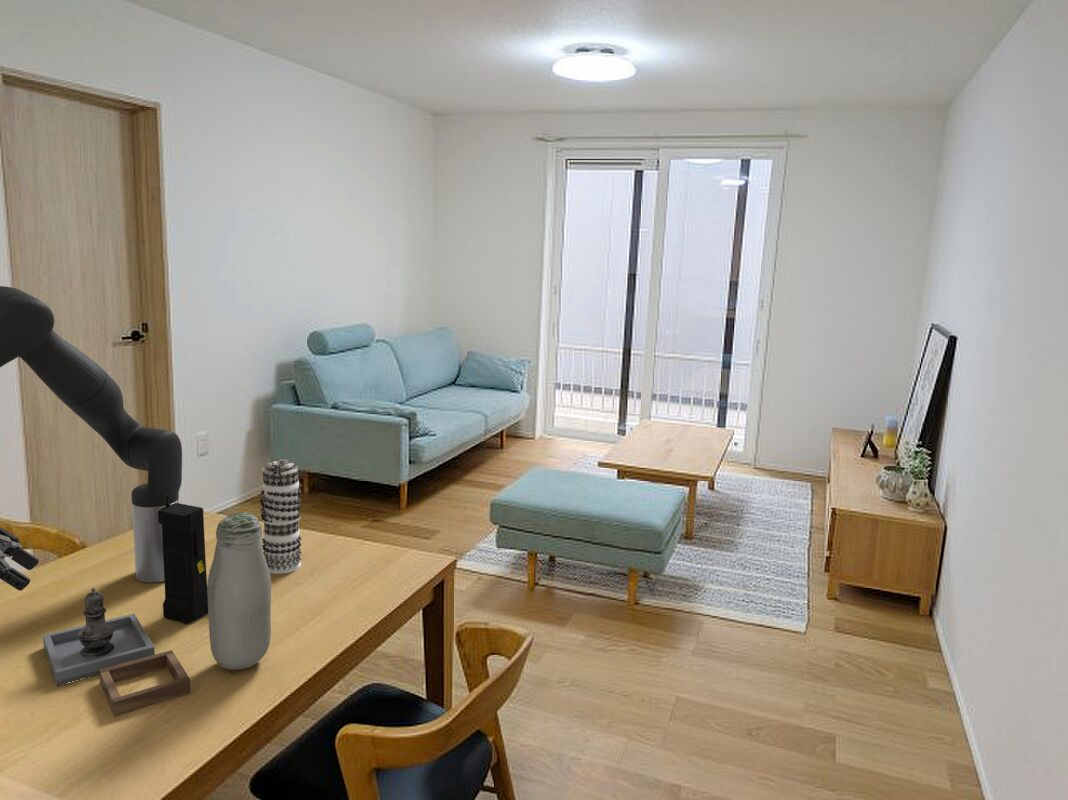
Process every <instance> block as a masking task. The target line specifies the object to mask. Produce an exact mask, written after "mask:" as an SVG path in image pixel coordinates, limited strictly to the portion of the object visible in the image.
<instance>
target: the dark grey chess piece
mask: <svg viewBox="0 0 1068 800" xmlns="http://www.w3.org/2000/svg"><path fill="white" fill-rule="evenodd" d="M96 590H97V589H95V587H92V589H91V590H90V591H91V592H89V593H86V595H85V596H84V607H85V608H84V609H85V610H84V612H83V613H82V615H83V616H84V618H85V625H86V626H85V628H83V629H82V630H80V631H79V632H78V634H77V637H78V638H79V639H80V642H81V644H82V645H83V646H85V647H84V648H83V649H82V650H81V652H80V654H81V655H82V656H83V657H87V658H95V657H100V656H103V655H106V654H108V653H110V652H111V651H112V650H113V649H114V645H113V644H112V643H110V642H109V641H110V640H111V639H112V636H113V632H114V631H115V627H114V626H112V625H110V624H106V622H105V620H106V613H107V608H105V607H104V605H105V604H104V595H103V593H102V592H100V591H96Z"/></svg>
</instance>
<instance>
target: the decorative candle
mask: <svg viewBox="0 0 1068 800" xmlns="http://www.w3.org/2000/svg"><path fill="white" fill-rule="evenodd" d="M299 470H300V467H299V466H298V465H296V464H295V463H294V462H293V461H291V460H288V459H275V460H271V461H269V462H267V463H266V464H265V466H263V467H262V468H261V472H262V490H261V491H260V493H259V497H260V499H259V502H260V505H261V508H260V512H261V514H260V517H261V520H262V522H263V523H264V524H263V525H264V530H262V534H263V537H262V547H263V553H264V556H265V559H266V562H267V566H268V569H269V573H270V574H273V575H274V574H275V575H282V574H289V573H292V572H295V571H297V570H299V569H300V568H301V566H302V563H301V560H302V557H301V554H302V553H303V552H302V551H301V548H300V547H301V546H302V544H301V540H302V537H301V535H300V534H301V533H300V527H299V526H300V523H299V522H300V521H299V520H301V516H302V514H301V513H300V512H299V511H300V510H301V509H302V508H303V506H302V504H301V502H302V501H303V500H302V499H301V498H300V497H299V496H300V495H302V494H303V491H302V490H301V488H302V487H303V485H302V483H301V482H300V481H299Z"/></svg>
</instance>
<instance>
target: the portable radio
mask: <svg viewBox="0 0 1068 800" xmlns="http://www.w3.org/2000/svg"><path fill="white" fill-rule="evenodd" d="M165 496H166V504H165V506H166V507H163V508H161V509H160V510H159V511H158V523H159V524H162V540H163V561H164V581H163V582H164V601H163V603H162V614H163V618H164V619H166V620H170V621H174V622H176V623H177V622H178V623H181V624H185V625H188V624H191V623H194V622H196V621H197V620H199V619H202V618H203V617H205V616H206V615H207V614H208V592H207V583H208V577H207V576H208V575H207V563H206V562H207V560H206V538H205V523H204V522H205V521H204V520H205V518H204V508H203V507H200V506H195V505H189V504H184V503H181V502H179V503H173V504H171V505H169V503H168V496H169V495H165Z"/></svg>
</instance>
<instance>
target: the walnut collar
mask: <svg viewBox="0 0 1068 800" xmlns="http://www.w3.org/2000/svg"><path fill="white" fill-rule="evenodd" d="M164 669H167V670H168V672H169V674H170V675H171V677H172V679H173V680H171V681H168V682H163V683H162V684H158V685H155V686H151V687H148V688H145V689H141V690H138V691H134V692H131V693H127V694H125V695H120V692H119V691H118V688H117V686H116V684H115V682H116V683H119V682H121V681H122V680H123V681H125V680H129V679H133V678H135V677H136V678H137V677H140V676H143V675H147V674H150V672H151V673H154V672H158V671H160V670H161V671H162V670H164ZM98 677H99V684H100V687H101V686H102V687H101V688H102V691H103V693H105V694H104V696H105V698H106V700H107V703H108V705H109V708H110V710H111V712H112V713H113V717H114V718H116V717H118V716H121V714H122V715H125V714H128V712H129V713H131V712H134V711H139V710H140V709H145V708H147V707H151V706H154V705H158V704H160V703H164V702H167V701H170V700H174V699H177V698H180V696H181V697H183V696H186V695H190V694H192V685H191V684H192V683H191V682H192V681H191V678H190V676H189V674H188V673H187V672H186V670H185V668H184V667H183V665H182V664H181V662H180V661H179V659H178V657H177V655H176V654H175V653H174V650H173V649H171V650H166V651H162V652H160V653H156V654H155V655H151V656H148V657H144V658H140V659H137V660H133V661H129V662H126V663H122V664H118V665H114V666H111V667H107V668H103V669H100V670H99V675H98ZM118 681H119V682H118ZM115 716H116V717H115Z"/></svg>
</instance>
